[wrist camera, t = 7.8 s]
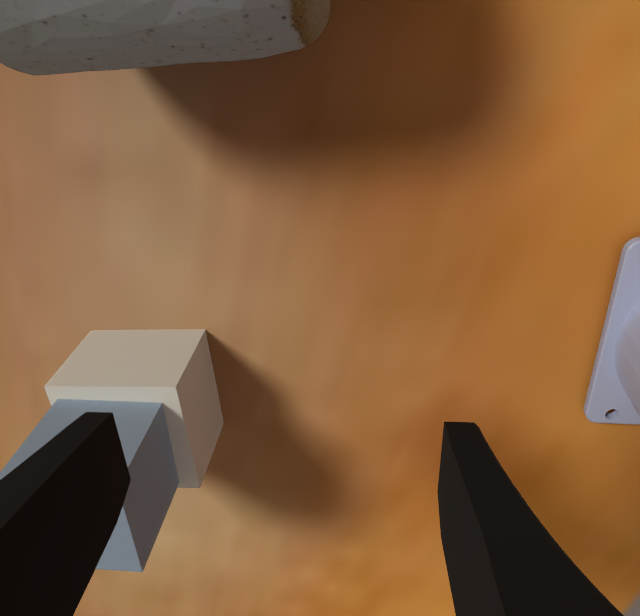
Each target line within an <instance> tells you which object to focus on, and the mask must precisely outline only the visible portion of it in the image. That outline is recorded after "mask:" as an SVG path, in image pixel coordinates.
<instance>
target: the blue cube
mask: <svg viewBox="0 0 640 616" xmlns="http://www.w3.org/2000/svg"><path fill="white" fill-rule="evenodd" d="M85 412H110V413H113V416H114V419H115V423H116V427H117V430H118V434H119V438H120V441H121V445H122V449H123V452H124V456H125V460H126V463H127V467H128V471H129V474H130V478H131V481H130V485H129V488H128V491H127V494H126V497H125V501H124V504H123V507H122V510H121V512H120V515H119V518H118V521H117V524H116V526H115V528H114V530H113V533H112V535H111V537H110V539H109V541H108V543H107V545H106V548H105V550H104V552H103V554H102V556H101V558H100V560H99V562H98V564H97V566H96V569H106V570H120V571H134V572H143V570H144V567H145V565H146V562H147V560H148V557H149V555H150V552H151V550H152V548H153V545H154V543H155V540H156V538H157V535H158V533H159V531H160V528H161V526H162V523H163V521H164V518H165V516H166V513H167V511H168V509H169V506H170V504H171V501H172V499H173V496H174V494H175V491H176V489H177V487H178V484H179V479H178V474H177V469H176V465H175V460H174V455H173V451H172V446H171V442H170V437H169V432H168V428H167V423H166V419H165V414H164V409H163V405H162V403H154V402H128V401H101V400H75V399H57V400H56V401H55V403H54V404H53V405H52V406H51V408H50V409H49V410H48V412H47V413H46V414H45V415H44V417H43V418H42V419H41V421H40V422H39V423H38V424H37V426H36V427H35V428H34V430H33V431H32V432H31V433H30V435H29V436H28V437H27V439H26V440H25V441H24V442H23V444H22V445H21V446H20V448H19V449H18V450H17V451H16V453H15V454H14V455H13V457H12V458H11V459H10V460H9V462H8V463H7V464H6V466H5V467H4V468H3V469H2V471H1V472H0V480H1V479H2V478H3V477H5V476H6V475H7V474H8V473H10V472H11V471H12V470H14V469H15V468H16V467H17V466H19V465H20V464H21V463H22V462H24V461H25V460H26V459H27V458H29V457H30V456H31V455H32V454H34V453H35V452H36V451H37V450H39V449H40V448H41V447H42V446H44V445H45V444H46V443H47V442H49V441H50V440H51V439H52V438H53V437H55V436H56V435H57V434H58V433H60V432H61V431H62V430H63V429H65V428H66V427H67V426H68V425H70V424H71V423H72V422H73V421H75V420H76V419H77V418H79V417H80V416H81V415H83V414H84V413H85Z"/></svg>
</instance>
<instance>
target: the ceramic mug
mask: <svg viewBox="0 0 640 616" xmlns="http://www.w3.org/2000/svg"><path fill="white" fill-rule="evenodd" d="M330 1H331V0H0V63H2V64H4V65H5V66H7V67H9V68H11V69H14V70H16V71H19V72H23V73H27V74H31V75H50V74H62V73H74V72H83V71H103V70H119V69H131V68H146V67H156V66H165V65H175V64H185V63H203V62H224V61H240V60H250V59H260V58H265V57H269V56H273V55H277V54H281V53H285V52H290V51H295V50H299V49H302V48H304V47H306V46H308V45H310V44H312V43H313V42H314V41H315V40H316V39H317V38H318V37H319V36H320V35H321V33H322V32H323V30H324V29H325V27H326V26H327V23H328V20H329V17H330Z"/></svg>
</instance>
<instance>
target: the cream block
mask: <svg viewBox="0 0 640 616" xmlns="http://www.w3.org/2000/svg"><path fill="white" fill-rule="evenodd" d="M44 388H45V390H46V393H47V396H48V398H49V401H50V403H51V406H52V405H53V404H54V403H55V401H56V400H57V399H75V400H101V401H128V402H154V403H162V405H163V409H164V414H165V419H166V423H167V428H168V432H169V437H170V442H171V446H172V451H173V455H174V460H175V465H176V469H177V474H178V479H179V484H178V487H179V488H200V487H201V484H202V481H203V479H204V476H205V473H206V471H207V468H208V465H209V462H210V460H211V457H212V454H213V451H214V449H215V446H216V443H217V440H218V438H219V435H220V432H221V430H222V427H223V424H224V421H223V416H222V411H221V406H220V401H219V396H218V390H217V385H216V380H215V375H214V370H213V365H212V360H211V355H210V350H209V345H208V340H207V335H206V330H205V329H191V330H91V331H90V332H89V333H88V335H87V336H86V337H85V338H84V339H83V341H82V342H81V343H80V344H79V345H78V347H77V348H76V349H75V350H74V351H73V352H72V354H71V355H70V356H69V357H68V358H67V360H66V361H65V362H64V363H63V364H62V366H61V367H60V368H59V369H58V370H57V372H56V373H55V374H54V375H53V376H52V378H51V379H50V380H49V381H48V382H47V383H46V385H45V386H44Z"/></svg>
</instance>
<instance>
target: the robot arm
mask: <svg viewBox="0 0 640 616" xmlns="http://www.w3.org/2000/svg"><path fill="white" fill-rule="evenodd" d="M612 409H615V411H613V412H612V413H606V412H607V411H609V410H612ZM584 413H585V415H586V417H587V419H588V420H589V421H591V422H595V423H615V424H640V237H635V238H633V239H631V240H629V241H628V242H627V243H626V244H625V245H624V247H623V250H622V253H621V257H620V261H619V266H618V270H617V274H616V278H615V282H614V286H613V290H612V294H611V298H610V302H609V306H608V311H607V315H606V319H605V323H604V327H603V331H602V335H601V339H600V343H599V347H598V351H597V356H596V360H595V364H594V368H593V372H592V376H591V380H590V384H589V388H588V392H587V396H586V401H585V405H584ZM130 481H131V478H130V474H129V471H128V467H127V463H126V460H125V456H124V452H123V449H122V445H121V441H120V438H119V434H118V430H117V427H116V423H115V419H114V416H113V413H110V412H85V413H84V414H83V415H81V416H80V417H79V418H77V419H76V420H75V421H73V422H72V423H71V424H70V425H68V426H67V427H66V428H65V429H63V430H62V431H61V432H60V433H58V434H57V435H56V436H55V437H53V438H52V439H51V440H50V441H49V442H47V443H46V444H45V445H44V446H42V447H41V448H40V449H39V450H37V451H36V452H35V453H34V454H32V455H31V456H30V457H29V458H27V459H26V460H25V461H24V462H22V463H21V464H20V465H19V466H17V467H16V468H15V469H14V470H12V471H11V472H10V473H8V474H7V475H6V476H5V477H3V478H2V479H1V480H0V616H73V614H74V612H75V610H76V608H77V606H78V604H79V602H80V600H81V598H82V595H83V593H84V591H85V589H86V587H87V585H88V583H89V581H90V579H91V577H92V575H93V573H94V571H95V569H96V566H97V564H98V562H99V560H100V558H101V556H102V554H103V552H104V550H105V548H106V545H107V543H108V541H109V539H110V537H111V535H112V533H113V530H114V528H115V526H116V524H117V521H118V518H119V515H120V512H121V510H122V507H123V504H124V501H125V497H126V494H127V491H128V488H129V485H130ZM438 502H439V516H440V528H441V539H442V544H443V550H444V555H445V560H446V566H447V571H448V576H449V582H450V587H451V592H452V597H453V603H454V608H455V613H456V616H623V615H622V614H621V613H620V612H619V611H618V610H617V609H616V608H615V607H614V606H613V605H612V604H611V603H610V602H609V601H608V599H607V598H606V597H605V596H604V595H603V594H602V593H601V592H600V591H599V590H598V589H597V588H596V587H595V586H594V585H593V584H592V583H591V582H590V581H589V579H588V578H587V577H586V576H585V575H584V574H583V573H582V572H581V571H580V569H579V568H578V567H577V566H576V565H575V564H574V563H573V562H572V560H571V559H570V558H569V557H568V556H567V555H566V553H565V552H564V551H563V550H562V549H561V547H560V546H559V545H558V544H557V543H556V541H555V540H554V539H553V538H552V536H551V535H550V534H549V532H548V531H547V530H546V529H545V527H544V526H543V525H542V524H541V522H540V521H539V520H538V518H537V517H536V516H535V514H534V513H533V512H532V510H531V509H530V508H529V506H528V505H527V503H526V502H525V500H524V499H523V498H522V496H521V495H520V493H519V492H518V490H517V489H516V488H515V486H514V485H513V483H512V482H511V480H510V479H509V477H508V476H507V474H506V473H505V471H504V470H503V468H502V466H501V465H500V463H499V462H498V460H497V459H496V457H495V455H494V454H493V452H492V450H491V449H490V447H489V445H488V443H487V442H486V440H485V438H484V436H483V434H482V433H481V431H480V429H479V427H478V426H477V425H476V424H475V423H469V422H444V430H443V441H442V451H441V462H440V472H439V483H438Z"/></svg>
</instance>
